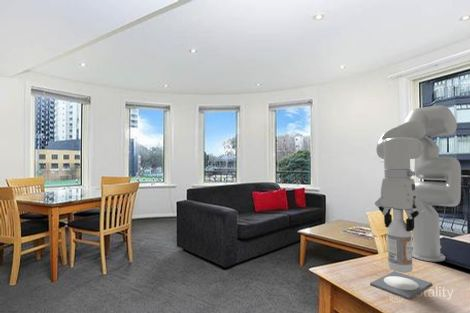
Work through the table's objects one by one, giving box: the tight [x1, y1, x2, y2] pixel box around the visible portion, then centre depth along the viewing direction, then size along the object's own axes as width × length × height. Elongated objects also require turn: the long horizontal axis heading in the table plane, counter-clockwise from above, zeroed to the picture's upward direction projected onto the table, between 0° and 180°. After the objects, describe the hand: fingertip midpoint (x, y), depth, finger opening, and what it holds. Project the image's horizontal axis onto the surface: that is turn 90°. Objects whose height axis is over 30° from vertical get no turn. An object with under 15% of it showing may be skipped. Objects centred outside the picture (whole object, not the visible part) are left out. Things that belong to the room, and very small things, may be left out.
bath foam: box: [386, 208, 413, 274], centre depth 92 cm, size 7×7×20 cm
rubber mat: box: [369, 270, 433, 300], centre depth 92 cm, size 16×12×1 cm
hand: (398, 228), depth 92 cm, fingers closed on bath foam, 6 cm apart
